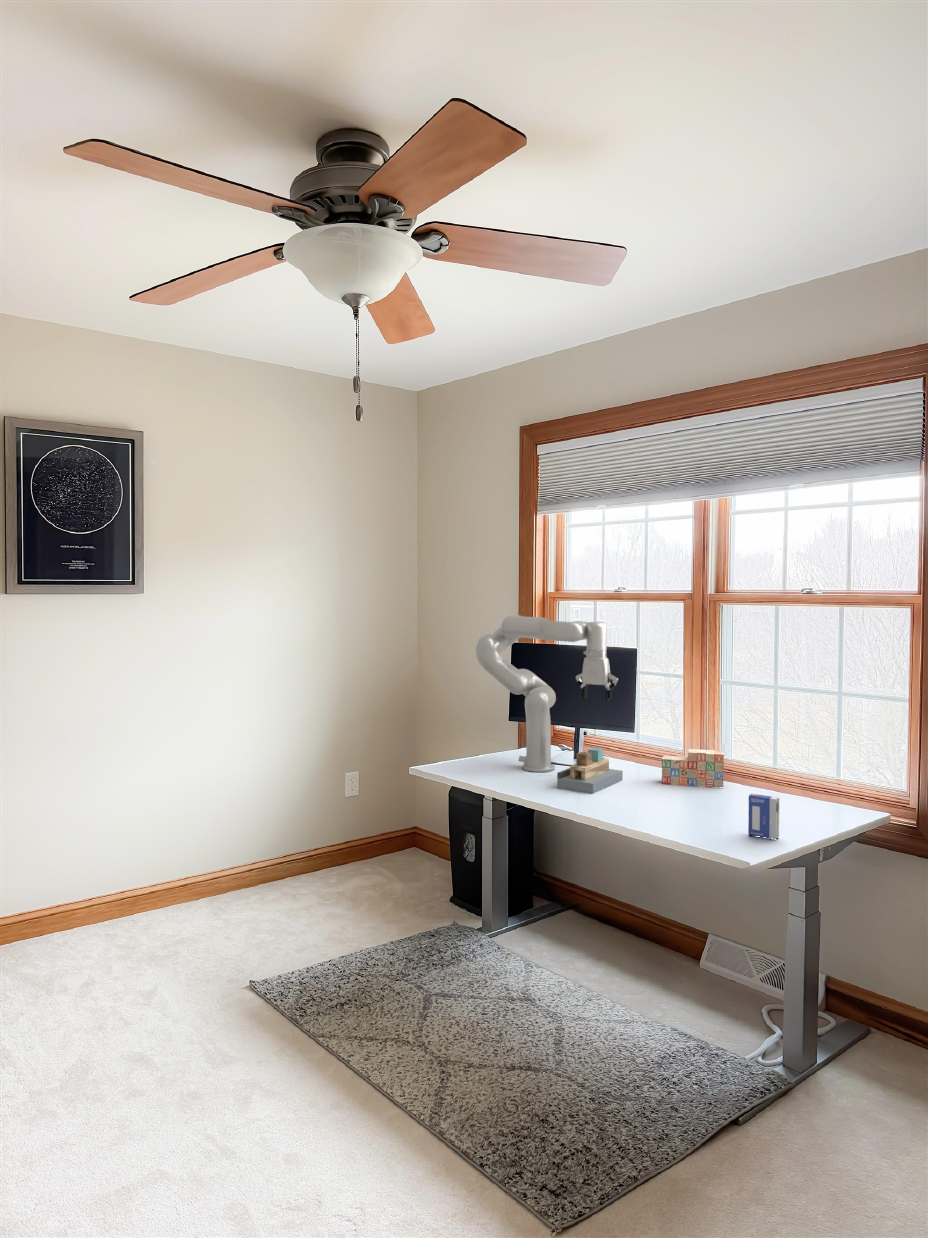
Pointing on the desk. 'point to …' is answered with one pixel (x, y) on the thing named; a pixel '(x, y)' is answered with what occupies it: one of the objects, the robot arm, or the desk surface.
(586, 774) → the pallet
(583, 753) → the brown wooden cube
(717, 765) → the stack of blocks
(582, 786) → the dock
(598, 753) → the teal cube
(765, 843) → the desk surface
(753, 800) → the walkman
